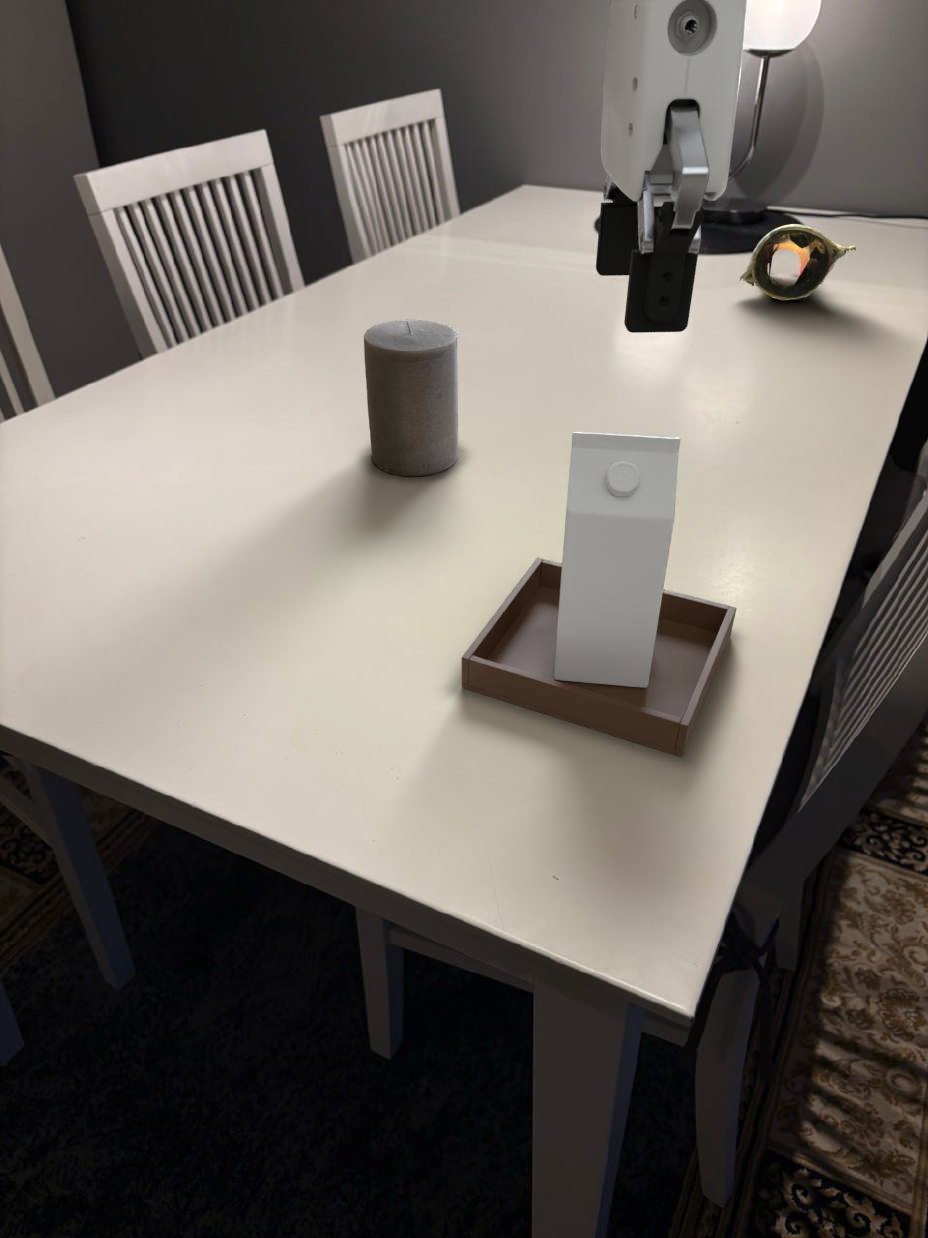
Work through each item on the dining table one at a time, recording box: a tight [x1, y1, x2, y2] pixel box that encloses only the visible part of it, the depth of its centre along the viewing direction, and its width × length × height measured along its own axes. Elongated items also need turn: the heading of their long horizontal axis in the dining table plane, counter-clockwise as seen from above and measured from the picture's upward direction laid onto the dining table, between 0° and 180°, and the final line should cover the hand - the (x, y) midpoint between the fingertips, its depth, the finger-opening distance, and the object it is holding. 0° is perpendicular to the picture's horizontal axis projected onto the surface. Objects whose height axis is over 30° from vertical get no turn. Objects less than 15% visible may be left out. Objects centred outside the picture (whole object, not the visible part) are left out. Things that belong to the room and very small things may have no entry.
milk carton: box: [554, 431, 681, 688], centre depth 66 cm, size 7×7×19 cm
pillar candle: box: [363, 318, 459, 477], centre depth 96 cm, size 10×10×15 cm
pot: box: [738, 223, 858, 301], centre depth 145 cm, size 17×11×18 cm
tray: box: [461, 557, 738, 758], centre depth 71 cm, size 17×15×3 cm
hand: (637, 299), depth 51 cm, fingers open, 9 cm apart
